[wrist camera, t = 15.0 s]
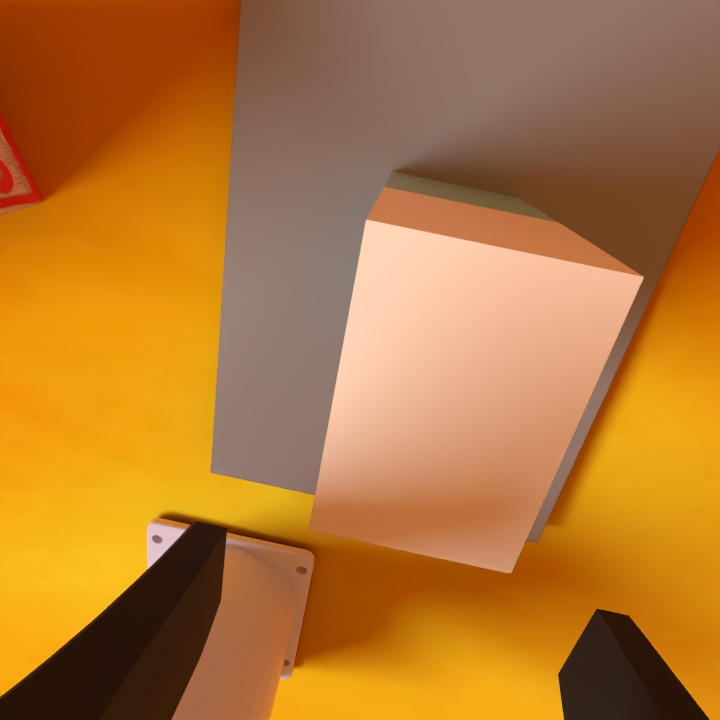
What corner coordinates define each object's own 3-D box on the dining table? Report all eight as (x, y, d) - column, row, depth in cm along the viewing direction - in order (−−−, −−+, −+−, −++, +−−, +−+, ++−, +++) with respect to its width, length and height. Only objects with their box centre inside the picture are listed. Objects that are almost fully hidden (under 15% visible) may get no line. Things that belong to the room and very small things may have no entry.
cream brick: (482, 441, 14) (511, 574, 10) (340, 411, 14) (309, 530, 10) (559, 222, 11) (643, 276, 7) (384, 186, 11) (366, 219, 7)
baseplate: (532, 525, 22) (537, 542, 21) (219, 458, 22) (210, 472, 21) (785, -41, 13) (812, -53, 12) (262, -144, 13) (251, -164, 12)
